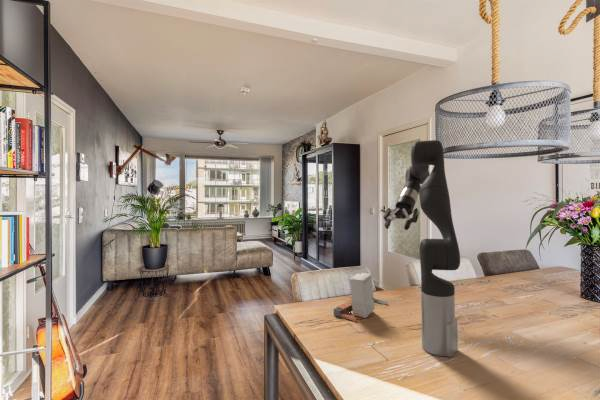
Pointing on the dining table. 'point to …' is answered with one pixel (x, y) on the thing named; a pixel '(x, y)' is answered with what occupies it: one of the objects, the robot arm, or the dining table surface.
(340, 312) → the rail
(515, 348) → the dining table surface
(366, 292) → the skincare box
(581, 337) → the dining table surface
